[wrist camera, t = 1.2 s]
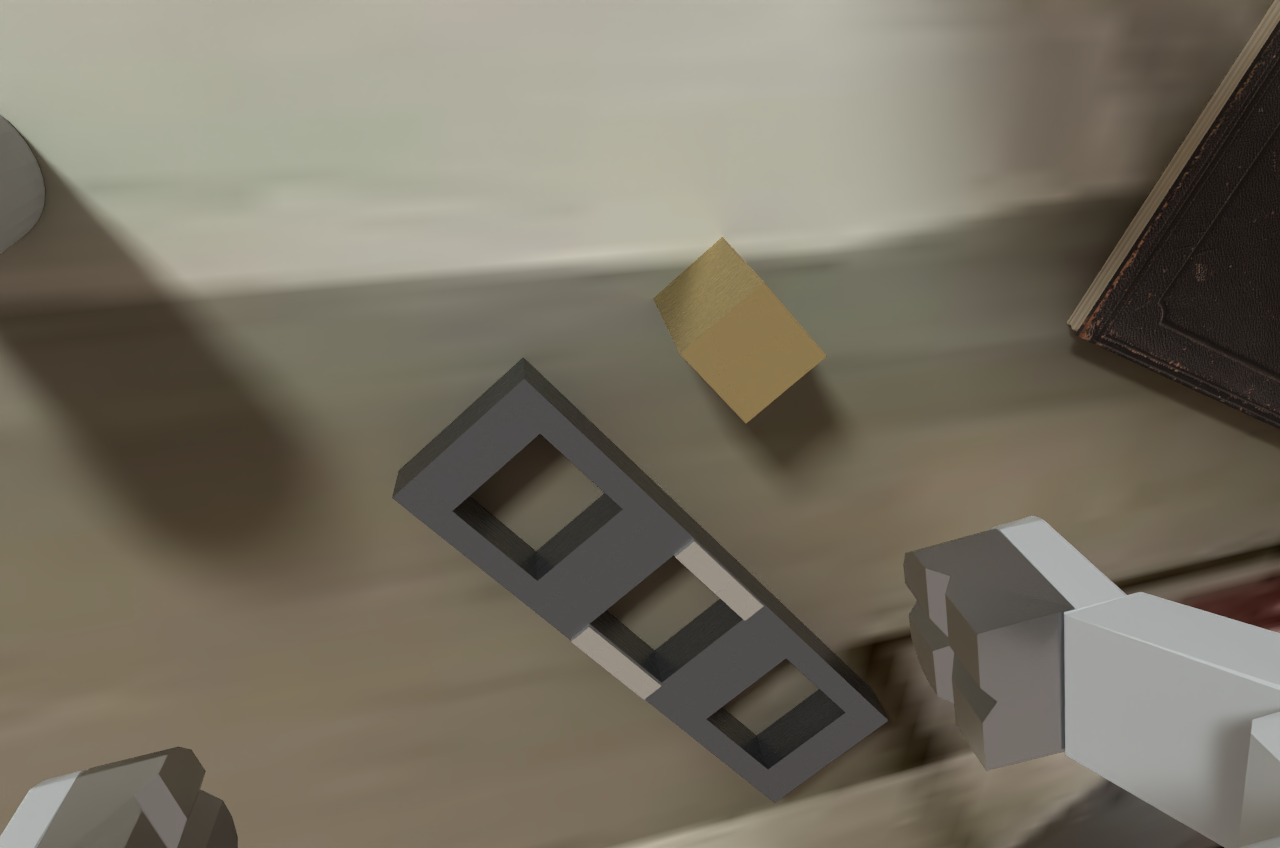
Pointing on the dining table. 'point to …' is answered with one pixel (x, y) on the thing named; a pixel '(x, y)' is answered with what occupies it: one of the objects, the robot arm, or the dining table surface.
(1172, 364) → the hardcover book
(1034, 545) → the robot arm
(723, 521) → the dining table surface
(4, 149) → the coffee cup
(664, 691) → the grey slotted tray
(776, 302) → the block
